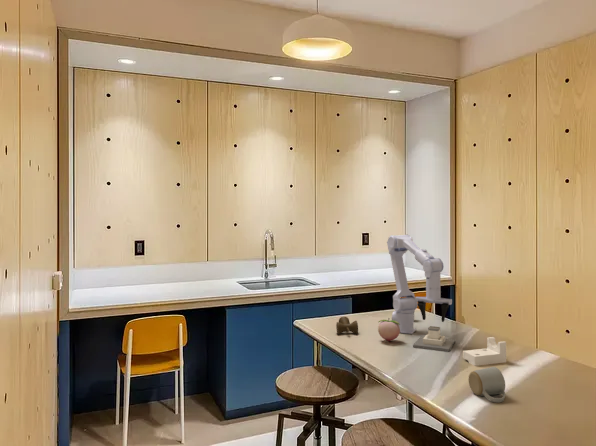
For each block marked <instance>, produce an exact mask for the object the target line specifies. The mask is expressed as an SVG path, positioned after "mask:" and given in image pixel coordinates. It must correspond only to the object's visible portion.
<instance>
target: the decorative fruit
mask: <svg viewBox="0 0 596 446" xmlns="http://www.w3.org/2000/svg"><path fill="white" fill-rule="evenodd" d="M378 323H379V324H378V326H377V327H378V328H377V331H378V334H379V337H380V338H381V339H383V340H385V341H387V342H392V341H394V340H395V339H397V338H398V337H399V336H400V334H401V333H400V327H399V325H400V324H399V323H398V322H397V321H394V320H392V319H391V320H390V318H389V317H388V319H380V320H379V321H378ZM398 324H399V325H398Z"/></svg>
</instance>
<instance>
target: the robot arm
mask: <svg viewBox="0 0 596 446" xmlns="http://www.w3.org/2000/svg"><path fill="white" fill-rule="evenodd" d="M386 243H387V245H386V246H387V250H388V254H389V255H390V261H391V265H392V270H393V271H392V272H393V276H394V281H395V287H396V292H395V293H394V294H393V295H392V307H393V309H394V311H392V314H391V320H394V321H397V322H398V323H399V324H400V325H399V324H398V325H399V327H400V333H399V334H408V335H412V334H414V332H416V330H417V329H416V328H415V327H414V324H415V323H414V322H415V321H414V322H413V312H414V313H415V312H416V310H417V308H418V309H419V311H420V313H421V317H422V320H423V321H425V320H426V318H427V317H426V315H427V314H426V307H427V306H426V305H427V303H428V304H440V306H441V322H442V323H444V322H445V320H446V315H447V311H448V309H449V307H450V306H451V305H452V304H453V299H452V298H444V297H441V296H442V295H441V293H442V291H441V273H442V272H443V270H444V263H443V261H442V259H441V258H439V257H438V258H437V257H435V256H433V255H432V254H430V253H429V252H428V250H427V249H425V248H420V247H419V246H418V245H417V244H416V243H415V242H414V239H413V237H411V235H409V234H400V235H399V234H397V235H393V234H391V235H389V237H388V238H387V241H386ZM408 251H409V252H410V253H411V254H412V255H413V256H414V259H415V260H416V261H417V262H418V263H419V264H420V265H421V266H422V270H423V271H424V277H425V284H426V285H425V291H426V292H425V294H426V295H425V296H415V293H414V292H413V291H412V290H410V289H409V284H408V279H407V273H406V269H405V263H404V259H403V255H405V254H406V253H407V252H408Z"/></svg>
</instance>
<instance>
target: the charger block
mask: <svg viewBox="0 0 596 446" xmlns="http://www.w3.org/2000/svg"><path fill="white" fill-rule="evenodd" d="M427 334H428V339H436V340H440V336H441V326H432V325H430V326H429V327H428V329H427Z"/></svg>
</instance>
